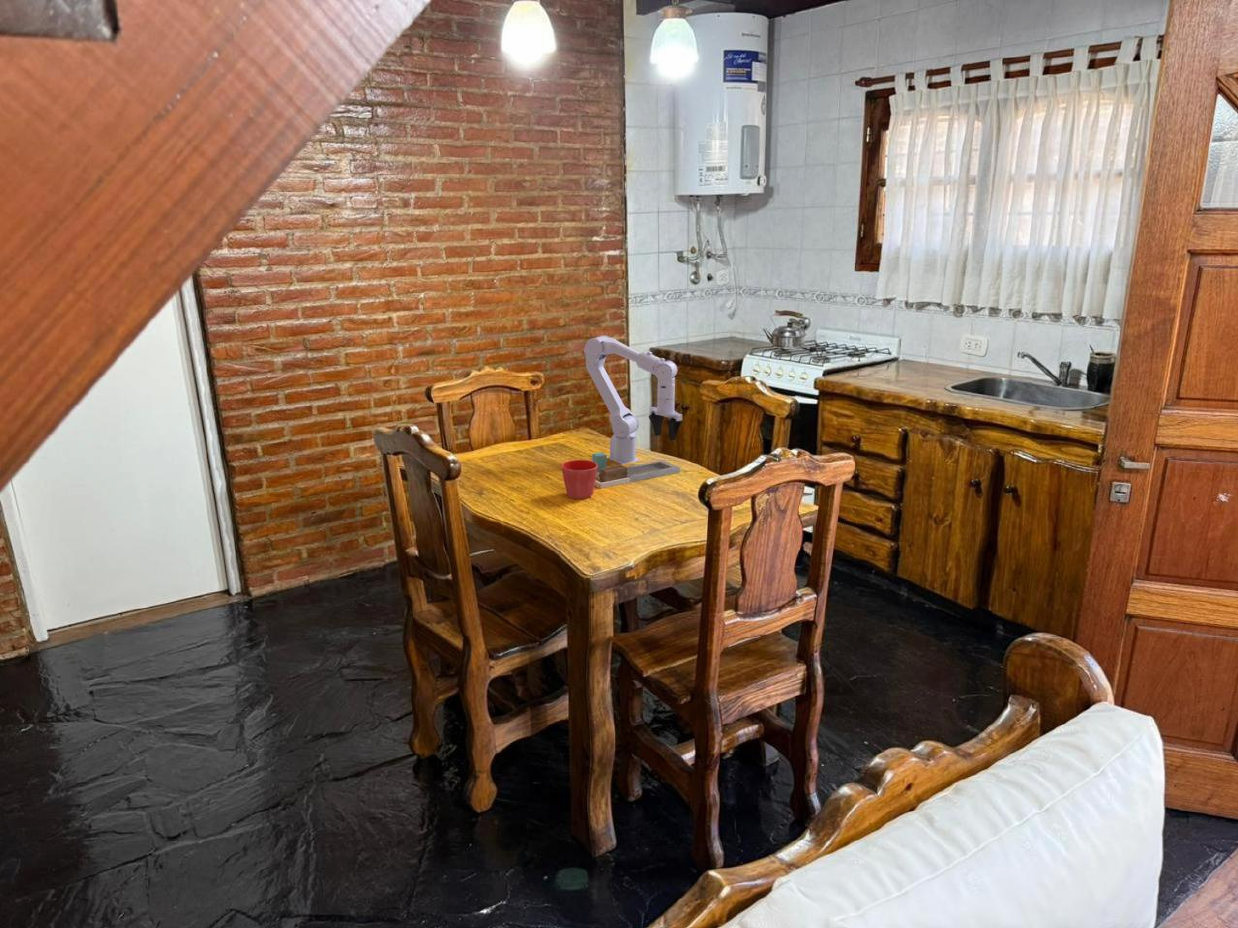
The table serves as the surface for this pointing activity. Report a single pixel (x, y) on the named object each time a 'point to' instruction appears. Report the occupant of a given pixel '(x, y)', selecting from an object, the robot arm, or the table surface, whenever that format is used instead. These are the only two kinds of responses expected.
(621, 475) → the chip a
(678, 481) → the table surface
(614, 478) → the brown boxy piece
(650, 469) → the slot block
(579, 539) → the table surface
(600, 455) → the teal block
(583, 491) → the flower pot
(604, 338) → the robot arm
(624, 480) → the tray
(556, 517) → the table surface
